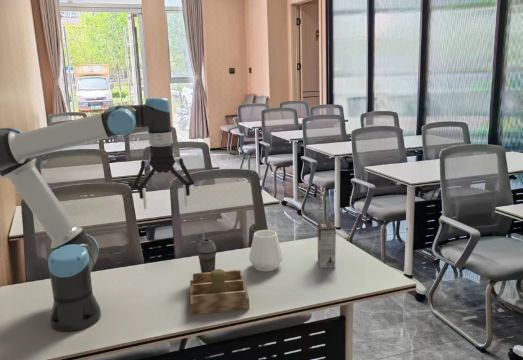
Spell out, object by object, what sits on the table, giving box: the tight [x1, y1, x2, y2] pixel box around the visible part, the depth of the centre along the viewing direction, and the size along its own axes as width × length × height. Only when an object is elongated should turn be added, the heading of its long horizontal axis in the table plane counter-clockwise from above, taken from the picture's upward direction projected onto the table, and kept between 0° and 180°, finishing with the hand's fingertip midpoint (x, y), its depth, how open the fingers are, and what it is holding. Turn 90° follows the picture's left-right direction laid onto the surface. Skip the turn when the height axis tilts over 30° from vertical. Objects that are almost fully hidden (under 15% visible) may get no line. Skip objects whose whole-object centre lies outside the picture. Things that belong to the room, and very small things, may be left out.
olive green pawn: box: [210, 268, 227, 293], centre depth 162 cm, size 6×6×11 cm
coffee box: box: [317, 221, 337, 269], centre depth 192 cm, size 9×6×16 cm
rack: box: [189, 269, 250, 315], centre depth 167 cm, size 19×18×6 cm
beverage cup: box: [196, 228, 217, 273], centre depth 181 cm, size 7×7×20 cm
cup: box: [248, 229, 284, 272], centre depth 191 cm, size 13×13×14 cm
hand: (165, 206), depth 167 cm, fingers open, 13 cm apart
